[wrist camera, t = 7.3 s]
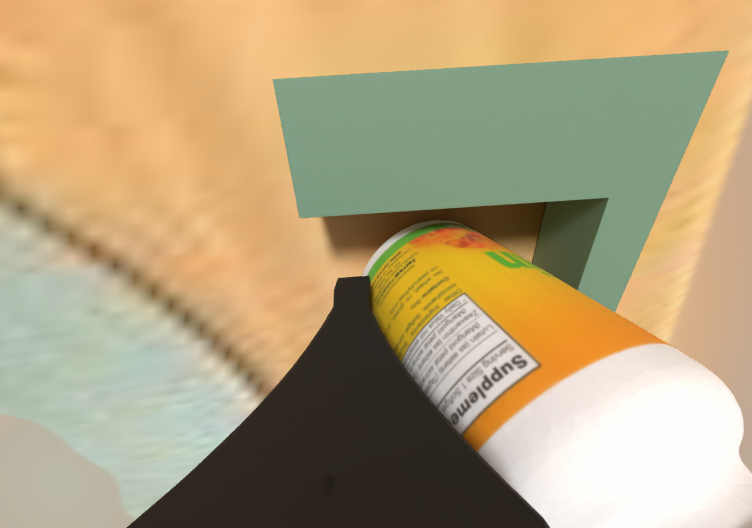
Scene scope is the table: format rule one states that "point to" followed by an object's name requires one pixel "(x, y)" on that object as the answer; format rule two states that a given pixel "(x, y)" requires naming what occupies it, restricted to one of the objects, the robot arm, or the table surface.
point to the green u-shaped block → (507, 148)
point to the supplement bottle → (559, 387)
